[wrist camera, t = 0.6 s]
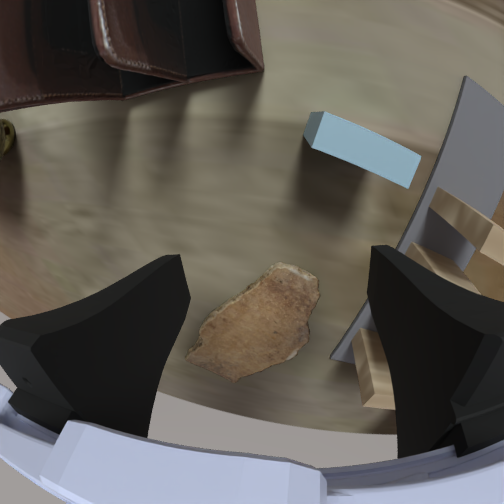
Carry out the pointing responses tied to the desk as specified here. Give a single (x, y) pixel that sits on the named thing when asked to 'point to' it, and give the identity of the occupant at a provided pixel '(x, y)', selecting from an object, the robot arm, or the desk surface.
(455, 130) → the felt runner
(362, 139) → the tile
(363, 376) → the tile
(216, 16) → the letter holder
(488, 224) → the tile
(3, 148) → the cup
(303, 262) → the desk surface
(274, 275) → the pottery shard
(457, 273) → the tile
